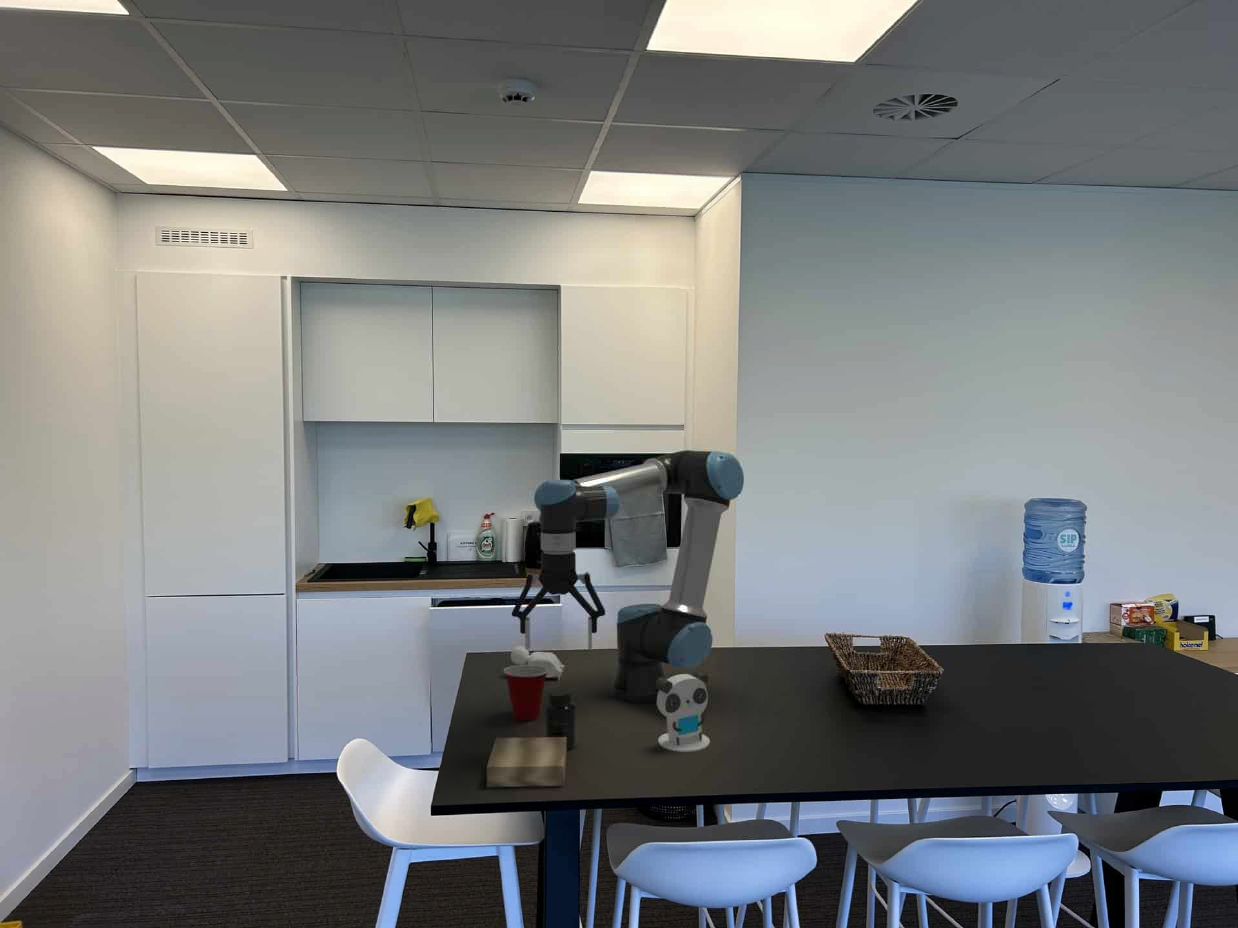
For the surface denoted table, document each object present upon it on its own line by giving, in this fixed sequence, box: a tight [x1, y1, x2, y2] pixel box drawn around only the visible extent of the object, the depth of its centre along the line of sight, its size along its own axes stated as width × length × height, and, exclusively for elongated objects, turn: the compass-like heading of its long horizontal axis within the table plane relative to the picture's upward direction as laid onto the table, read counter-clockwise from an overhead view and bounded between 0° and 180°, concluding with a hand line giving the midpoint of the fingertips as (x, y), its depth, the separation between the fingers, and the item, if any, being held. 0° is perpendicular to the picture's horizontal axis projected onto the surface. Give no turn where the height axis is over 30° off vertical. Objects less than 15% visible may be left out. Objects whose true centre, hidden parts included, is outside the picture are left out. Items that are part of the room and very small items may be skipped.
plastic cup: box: [503, 664, 549, 722], centre depth 209 cm, size 11×11×12 cm
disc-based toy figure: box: [655, 670, 711, 753], centre depth 193 cm, size 12×11×15 cm
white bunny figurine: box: [510, 645, 565, 682], centre depth 241 cm, size 9×8×15 cm
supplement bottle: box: [544, 688, 577, 751], centre depth 192 cm, size 7×7×12 cm
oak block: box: [486, 736, 568, 788], centre depth 179 cm, size 15×15×4 cm
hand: (558, 647), depth 191 cm, fingers open, 13 cm apart
